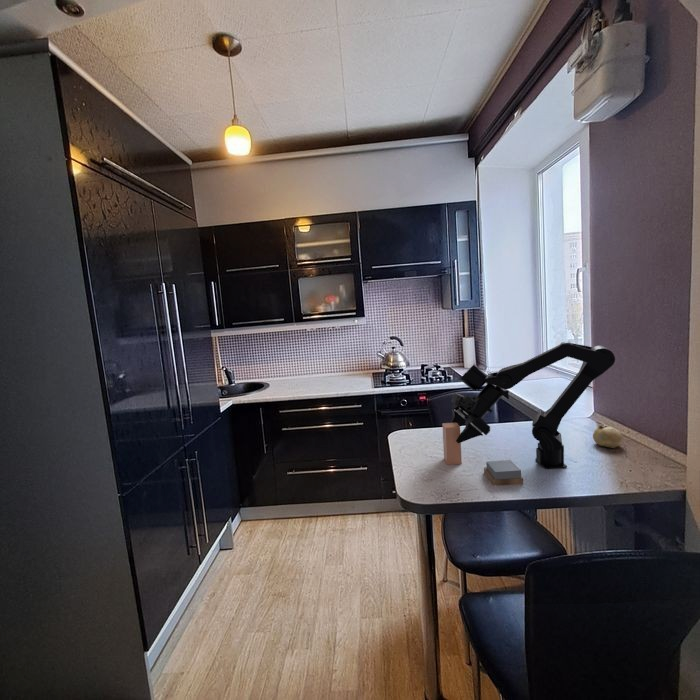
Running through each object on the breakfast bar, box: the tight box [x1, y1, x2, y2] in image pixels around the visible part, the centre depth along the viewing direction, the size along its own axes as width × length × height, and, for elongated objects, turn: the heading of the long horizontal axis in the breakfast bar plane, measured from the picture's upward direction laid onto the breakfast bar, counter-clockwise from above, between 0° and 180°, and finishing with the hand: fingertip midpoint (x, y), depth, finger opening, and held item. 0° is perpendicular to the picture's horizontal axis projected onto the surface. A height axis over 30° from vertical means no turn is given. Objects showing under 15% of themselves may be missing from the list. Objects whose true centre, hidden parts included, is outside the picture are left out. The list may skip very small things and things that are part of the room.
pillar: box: [441, 422, 463, 466], centre depth 118 cm, size 4×4×12 cm
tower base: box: [483, 466, 524, 486], centre depth 105 cm, size 8×8×2 cm
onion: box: [592, 424, 624, 449], centre depth 121 cm, size 8×8×7 cm
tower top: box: [485, 459, 522, 480], centre depth 104 cm, size 7×7×2 cm
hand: (452, 437), depth 117 cm, fingers open, 9 cm apart
